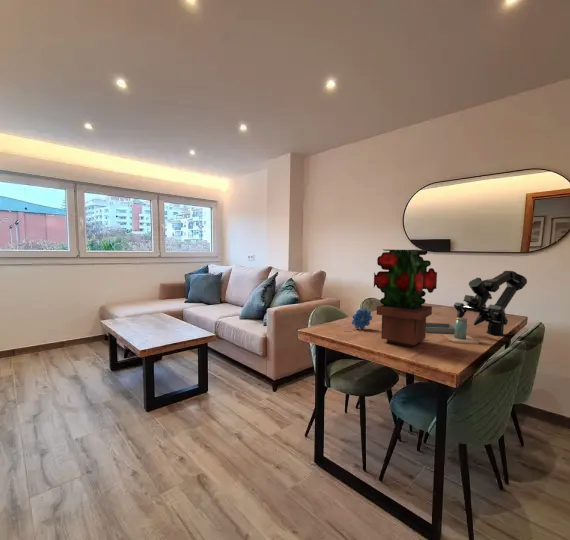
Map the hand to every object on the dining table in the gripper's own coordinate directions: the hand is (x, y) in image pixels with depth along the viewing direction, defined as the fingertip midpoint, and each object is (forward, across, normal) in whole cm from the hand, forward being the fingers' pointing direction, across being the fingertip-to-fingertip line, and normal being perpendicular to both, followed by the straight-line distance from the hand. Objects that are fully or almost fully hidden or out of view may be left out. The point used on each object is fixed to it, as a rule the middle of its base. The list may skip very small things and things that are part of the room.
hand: (465, 322), depth 151 cm
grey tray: (+6, -16, +6) cm, 18 cm away
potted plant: (+30, -8, -18) cm, 36 cm away
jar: (+8, 0, +3) cm, 8 cm away
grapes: (+31, -37, -20) cm, 52 cm away
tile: (+8, 0, +3) cm, 9 cm away
